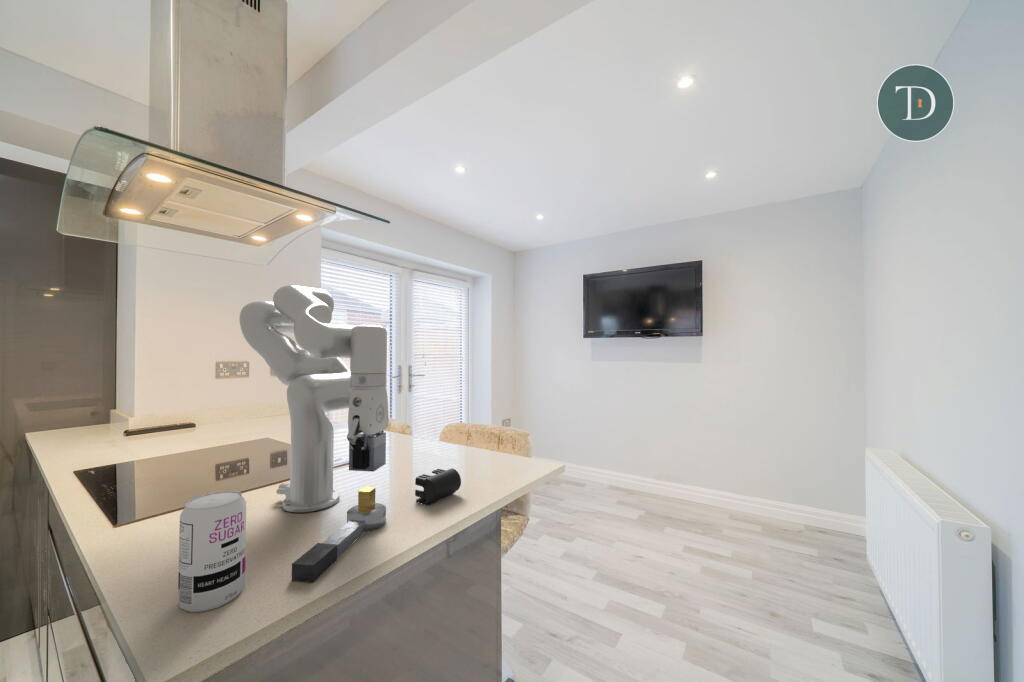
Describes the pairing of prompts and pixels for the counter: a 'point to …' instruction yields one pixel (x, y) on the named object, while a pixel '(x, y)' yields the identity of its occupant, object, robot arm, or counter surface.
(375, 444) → the socket
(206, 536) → the supplement can
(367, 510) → the ratchet
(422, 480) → the end cap
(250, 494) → the counter surface
